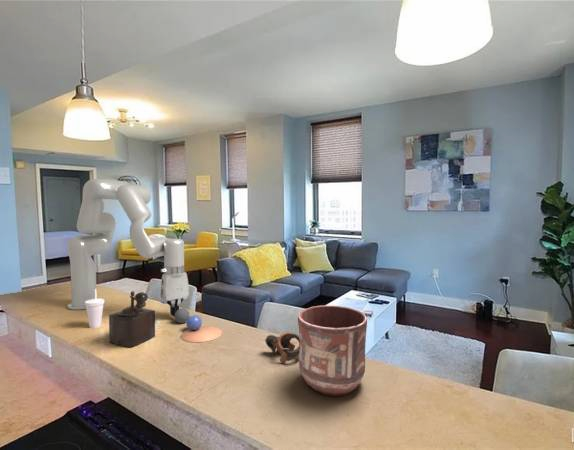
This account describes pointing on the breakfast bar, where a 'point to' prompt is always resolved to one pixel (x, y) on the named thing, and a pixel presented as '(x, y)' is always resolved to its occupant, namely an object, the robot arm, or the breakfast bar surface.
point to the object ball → (194, 322)
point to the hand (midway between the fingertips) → (174, 315)
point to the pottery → (332, 348)
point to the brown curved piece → (284, 346)
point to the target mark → (201, 334)
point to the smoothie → (94, 311)
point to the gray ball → (181, 315)
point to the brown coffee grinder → (132, 323)
